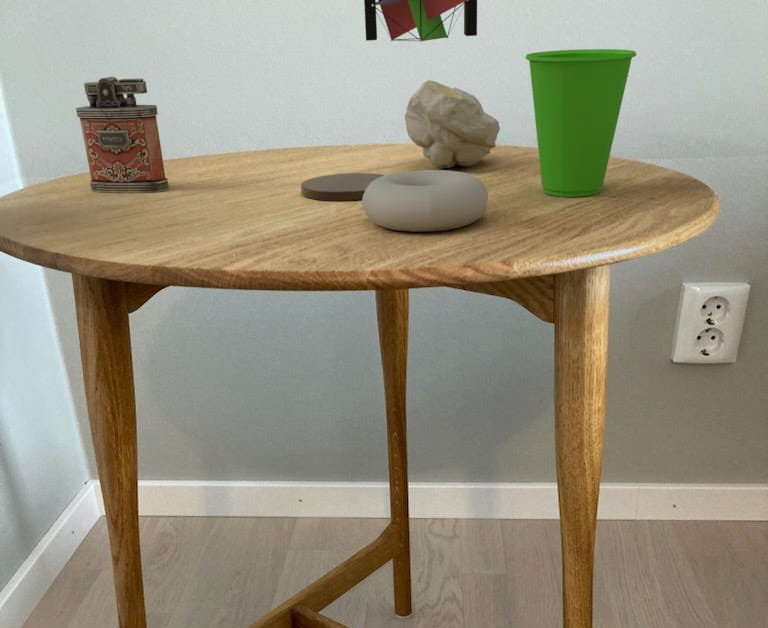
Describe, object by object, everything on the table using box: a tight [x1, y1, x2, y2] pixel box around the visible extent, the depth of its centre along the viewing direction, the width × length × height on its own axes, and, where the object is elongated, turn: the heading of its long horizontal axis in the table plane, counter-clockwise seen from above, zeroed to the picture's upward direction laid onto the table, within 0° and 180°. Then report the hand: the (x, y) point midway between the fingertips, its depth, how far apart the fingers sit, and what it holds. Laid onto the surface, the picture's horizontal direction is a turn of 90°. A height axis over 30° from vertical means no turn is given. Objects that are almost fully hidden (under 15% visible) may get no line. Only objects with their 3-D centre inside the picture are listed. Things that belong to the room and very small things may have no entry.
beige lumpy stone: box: [404, 79, 501, 169], centre depth 93 cm, size 12×8×10 cm
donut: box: [361, 169, 489, 233], centre depth 72 cm, size 10×4×10 cm
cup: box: [524, 48, 637, 198], centre depth 78 cm, size 9×9×11 cm
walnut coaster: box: [300, 172, 385, 202], centre depth 85 cm, size 9×9×1 cm
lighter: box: [75, 76, 170, 194], centre depth 88 cm, size 8×3×10 cm, turn 76°
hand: (420, 36), depth 67 cm, fingers closed on geometric puzzle, 6 cm apart
